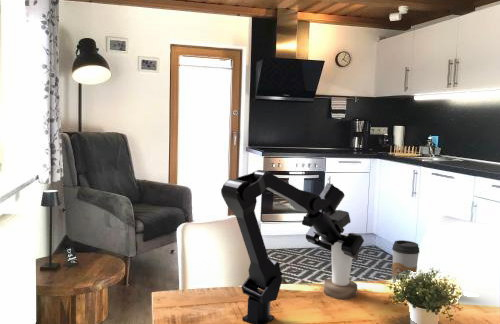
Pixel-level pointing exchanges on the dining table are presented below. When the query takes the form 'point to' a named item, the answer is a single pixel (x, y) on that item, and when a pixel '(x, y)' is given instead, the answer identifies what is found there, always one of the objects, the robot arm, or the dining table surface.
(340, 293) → the walnut stand
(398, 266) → the coffee cup
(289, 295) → the dining table surface
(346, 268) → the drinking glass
